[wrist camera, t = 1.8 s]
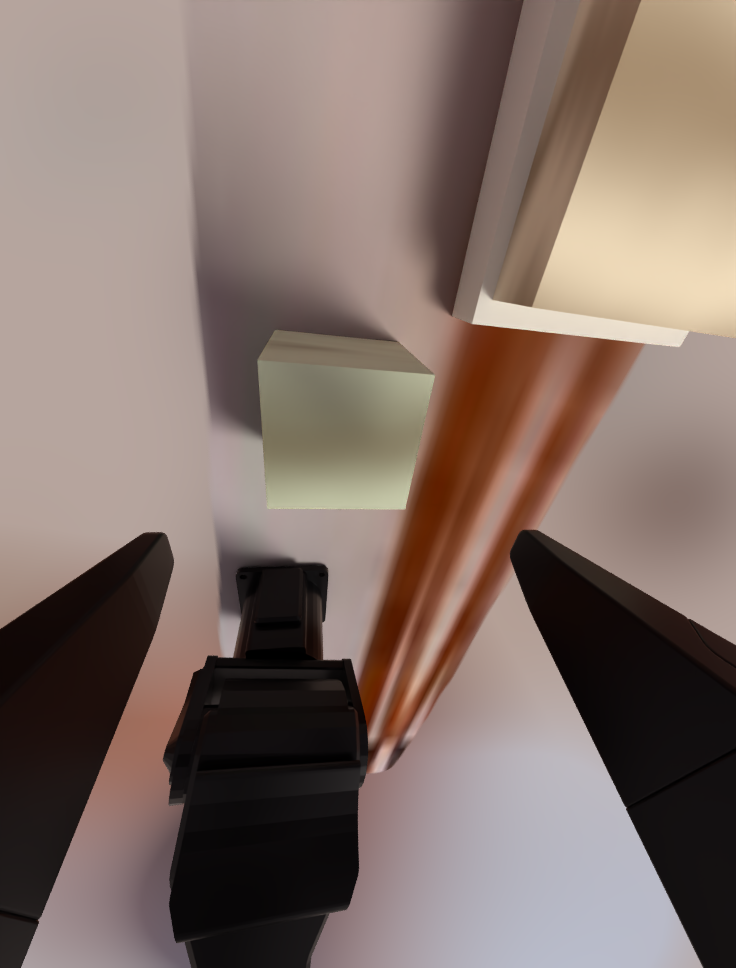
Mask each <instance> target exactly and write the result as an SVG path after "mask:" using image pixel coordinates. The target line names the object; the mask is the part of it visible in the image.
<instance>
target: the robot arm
mask: <svg viewBox="0 0 736 968" xmlns="http://www.w3.org/2000/svg"><path fill="white" fill-rule="evenodd" d="M510 559H511V562H512V565H513V567H514V570H515V573H516V576H517V578H518V581H519V584H520V586H521V589H522V592H523V594H524V597H525V600H526V602H527V604H528V607H529V609H530V612H531V614H532V616H533V618H534V621H535V623H536V624H537V627H538V629H539V631H540V633H541V635H542V637H543V639H544V641H545V643H546V645H547V647H548V649H549V651H550V653H551V655H552V657H553V659H554V662H555V664H556V666H557V668H558V670H559V672H560V674H561V676H562V678H563V680H564V682H565V684H566V686H567V688H568V690H569V692H570V695H571V697H572V698H573V701H574V703H575V704H576V707H577V709H578V711H579V713H580V715H581V717H582V719H583V721H584V723H585V725H586V727H587V729H588V732H589V734H590V736H591V737H592V740H593V742H594V744H595V746H596V748H597V750H598V752H599V754H600V756H601V758H602V760H603V762H604V764H605V766H606V768H607V771H608V773H609V775H610V776H611V779H612V781H613V783H614V785H615V786H616V789H617V791H618V793H619V795H620V797H621V799H622V801H623V803H624V805H625V807H627V808H626V810H627V812H628V814H629V816H630V818H631V820H632V822H633V824H634V826H635V829H636V831H637V833H638V835H639V837H640V839H641V841H642V843H643V845H644V847H645V849H646V851H647V853H648V855H649V857H650V860H651V862H652V864H653V866H654V868H655V870H656V872H657V874H658V876H659V878H660V880H661V882H662V884H663V886H664V888H665V890H666V892H667V894H668V896H669V898H670V900H671V903H672V905H673V907H674V909H675V911H676V913H677V915H678V917H679V919H680V921H681V923H682V925H683V927H684V929H685V931H686V934H687V936H688V937H689V940H690V942H691V944H692V946H693V948H694V950H695V952H696V954H697V956H698V958H699V960H700V962H701V964H702V966H703V968H736V645H734V644H733V643H731V642H729V641H727V640H726V639H724V638H722V637H720V636H718V635H717V634H715V633H713V632H712V631H710V630H708V629H706V628H705V627H703V626H701V625H700V624H698V623H696V622H694V621H693V620H691V619H687V617H685V616H684V615H682V614H680V613H679V612H677V611H675V610H674V609H672V608H670V607H669V606H667V605H665V604H663V603H661V602H660V601H658V600H656V599H655V598H653V597H651V596H650V595H648V594H646V593H644V592H643V591H641V590H639V589H638V588H636V587H634V586H632V585H631V584H629V583H627V582H626V581H624V580H622V579H620V578H619V577H617V576H615V575H614V574H612V573H610V572H608V571H607V570H605V569H603V568H601V567H600V566H598V565H596V564H594V563H593V562H591V561H590V560H588V559H586V558H584V557H582V556H581V555H579V554H578V553H576V552H574V551H572V550H571V549H569V548H567V547H565V546H564V545H562V544H560V543H558V542H557V541H555V540H553V539H552V538H550V537H548V536H546V535H545V534H543V533H541V532H540V531H538V530H522V531H521V532H520V533H519V534H518V536H517V538H516V540H515V542H514V545H513V547H512V549H511V551H510ZM173 565H174V559H173V554H172V551H171V548H170V544H169V541H168V537H167V535H166V534H165V533H162V532H150V533H149V532H147V533H143V534H141V535H140V536H139V537H137V538H135V539H134V540H132V541H131V542H129V543H128V544H126V545H125V546H124V547H122V548H120V549H119V550H117V551H116V552H114V553H113V554H111V555H110V556H108V557H107V558H106V559H104V560H102V561H101V562H99V563H98V564H96V565H95V566H94V567H92V568H91V569H89V570H88V571H86V572H85V573H83V574H82V575H80V576H79V577H77V578H76V579H74V580H73V581H71V582H70V583H68V584H67V585H65V586H64V587H62V588H61V589H59V590H58V591H56V592H55V593H53V594H52V595H50V596H49V597H47V598H46V599H45V600H43V601H41V602H40V603H38V604H37V605H35V606H34V607H32V608H31V609H29V610H28V611H26V612H25V613H23V614H22V615H21V616H19V617H18V618H16V619H15V620H13V621H12V622H10V623H9V624H7V625H6V626H4V627H3V628H1V629H0V968H21V966H22V963H23V961H24V959H25V956H26V954H27V951H28V949H29V946H30V944H31V941H32V939H33V936H34V934H35V931H36V929H37V926H38V924H39V921H38V919H39V918H40V917H41V915H42V913H43V910H44V908H45V905H46V903H47V900H48V898H49V895H50V893H51V891H52V888H53V885H54V883H55V881H56V878H57V876H58V873H59V871H60V868H61V866H62V863H63V861H64V858H65V856H66V853H67V851H68V848H69V846H70V843H71V841H72V838H73V836H74V833H75V831H76V828H77V826H78V823H79V821H80V818H81V816H82V813H83V811H84V808H85V806H86V804H87V801H88V799H89V796H90V794H91V791H92V789H93V786H94V784H95V781H96V779H97V776H98V774H99V771H100V769H101V766H102V764H103V761H104V759H105V756H106V754H107V751H108V749H109V746H110V744H111V741H112V739H113V736H114V734H115V731H116V729H117V726H118V724H119V721H120V719H121V716H122V714H123V711H124V709H125V706H126V704H127V702H128V699H129V696H130V694H131V691H132V689H133V687H134V684H135V682H136V679H137V677H138V674H139V671H140V669H141V667H142V664H143V662H144V659H145V657H146V654H147V652H148V649H149V647H150V644H151V642H152V639H153V636H154V634H155V631H156V628H157V625H158V621H159V617H160V614H161V610H162V607H163V603H164V599H165V596H166V592H167V588H168V585H169V581H170V578H171V574H172V570H173ZM320 572H323V573H320ZM236 582H237V588H238V594H239V601H240V607H241V614H242V616H241V621H240V626H239V631H238V636H237V641H236V646H235V651H234V656H233V658H222V657H219V658H218V656H208V657H207V660H206V663H205V666H204V667H203V669H200V670H198V671H196V672H194V673H193V677H192V680H191V683H190V687H189V690H188V693H187V697H186V700H185V703H184V706H183V708H182V711H181V713H180V715H179V718H178V720H177V723H176V725H175V727H174V730H173V732H172V734H171V737H170V739H169V741H168V744H167V746H166V749H165V753H164V757H163V762H164V764H165V765H166V767H167V769H168V770H169V772H170V778H169V785H171V789H170V796H169V806H171V805H182V804H183V803H185V804H184V809H183V813H182V818H181V823H180V828H179V832H178V837H177V842H176V847H175V852H174V856H173V861H172V866H171V870H170V879H169V880H170V888H171V895H170V901H169V907H170V914H171V920H172V926H173V932H174V938H175V941H176V943H181V942H185V945H186V949H187V953H188V957H189V960H190V964H191V968H310V963H311V956H312V953H313V951H314V949H315V946H316V944H317V942H318V939H319V937H320V934H321V932H322V930H323V927H324V925H325V922H326V920H327V918H328V916H329V913H333V912H338V911H343V910H346V909H347V908H348V907H349V904H350V901H351V898H352V895H353V890H354V887H355V884H356V880H357V877H358V872H359V854H358V790H359V788H360V787H361V786H362V784H363V783H364V779H365V775H366V769H367V760H368V735H367V725H366V719H365V715H364V710H363V706H362V702H361V698H360V694H359V690H358V686H357V682H356V678H355V674H354V670H353V666H352V661H351V659H342V660H323V634H322V622H324V621H325V615H326V601H327V587H328V568H327V567H325V566H295V567H257V568H240V569H238V571H237V574H236Z"/></svg>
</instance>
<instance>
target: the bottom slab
mask: <svg viewBox="0 0 736 968" xmlns="http://www.w3.org/2000/svg"><path fill="white" fill-rule="evenodd" d="M579 3H580V0H524V1H523V6H522V10H521V14H520V19H519V23H518V28H517V32H516V36H515V41H514V45H513V50H512V54H511V58H510V63H509V67H508V72H507V76H506V80H505V85H504V89H503V94H502V98H501V102H500V107H499V111H498V116H497V120H496V124H495V129H494V133H493V138H492V142H491V146H490V151H489V155H488V160H487V164H486V168H485V173H484V177H483V182H482V186H481V190H480V195H479V199H478V204H477V208H476V212H475V217H474V221H473V226H472V230H471V234H470V239H469V243H468V248H467V252H466V256H465V261H464V265H463V270H462V274H461V278H460V283H459V287H458V292H457V296H456V300H455V305H454V309H453V314H452V317H455V318H458V319H461V320H463V321H466V322H469V323H472V324H479V325H488V326H497V327H506V328H515V329H523V330H532V331H541V332H550V333H559V334H568V335H577V336H585V337H594V338H603V339H612V340H621V341H630V342H638V343H647V344H656V345H665V346H674V347H680V346H681V344H682V343H683V341H684V339H685V337H686V336H687V334H688V332H689V331H685V330H678V329H672V328H665V327H658V326H652V325H645V324H638V323H632V322H625V321H618V320H612V319H605V318H598V317H592V316H585V315H578V314H572V313H565V312H558V311H552V310H545V309H538V308H532V307H526V306H521V305H516V304H511V303H505V302H500V301H495V300H492V299H493V296H494V292H495V289H496V286H497V282H498V279H499V275H500V272H501V269H502V265H503V262H504V258H505V255H506V251H507V248H508V245H509V241H510V238H511V234H512V231H513V228H514V224H515V221H516V217H517V214H518V211H519V207H520V204H521V200H522V197H523V194H524V190H525V187H526V183H527V180H528V177H529V173H530V170H531V166H532V163H533V160H534V156H535V153H536V149H537V146H538V143H539V139H540V136H541V132H542V129H543V126H544V122H545V119H546V115H547V112H548V109H549V105H550V102H551V98H552V95H553V92H554V88H555V85H556V81H557V78H558V75H559V71H560V68H561V64H562V61H563V58H564V54H565V51H566V47H567V44H568V41H569V37H570V34H571V30H572V27H573V24H574V20H575V17H576V13H577V10H578V7H579Z"/></svg>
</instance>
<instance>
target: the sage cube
mask: <svg viewBox="0 0 736 968" xmlns="http://www.w3.org/2000/svg"><path fill="white" fill-rule="evenodd" d="M257 362H258V377H259V392H260V407H261V422H262V437H263V452H264V467H265V482H266V497H267V509H405V507H406V503H407V498H408V494H409V489H410V485H411V480H412V476H413V471H414V467H415V462H416V458H417V453H418V449H419V445H420V440H421V436H422V431H423V427H424V422H425V418H426V413H427V409H428V404H429V400H430V395H431V391H432V386H433V382H434V378H435V374H434V373H432V372H431V371H430V370H429V369H428V368H427V367H426V366H425V365H424V364H422V363H421V362H420V361H419V360H418V359H417V358H416V357H415V356H414V355H412V354H411V353H410V352H409V351H408V350H407V349H406V348H405V347H404V346H403V345H401V344H400V343H399V342H393V341H383V340H373V339H363V338H353V337H343V336H333V335H323V334H313V333H303V332H294V331H284V330H275V331H274V332H273V334H272V336H271V338H270V339H269V341H268V343H267V344H266V346H265V348H264V350H263V351H262V353H261V355H260V356H259V358H258V360H257Z"/></svg>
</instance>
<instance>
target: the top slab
mask: <svg viewBox="0 0 736 968" xmlns="http://www.w3.org/2000/svg"><path fill="white" fill-rule="evenodd" d="M492 300H495V301H500V302H505V303H511V304H516V305H521V306H526V307H532V308H538V309H545V310H552V311H558V312H565V313H572V314H578V315H585V316H592V317H598V318H605V319H612V320H618V321H625V322H632V323H638V324H645V325H652V326H658V327H665V328H672V329H678V330H685V331H692V332H699V333H705V334H712V335H719V336H725V337H732V338H736V0H580V3H579V7H578V10H577V13H576V17H575V20H574V24H573V27H572V30H571V34H570V37H569V41H568V44H567V47H566V51H565V54H564V58H563V61H562V64H561V68H560V71H559V75H558V78H557V81H556V85H555V88H554V92H553V95H552V98H551V102H550V105H549V109H548V112H547V115H546V119H545V122H544V126H543V129H542V132H541V136H540V139H539V143H538V146H537V149H536V153H535V156H534V160H533V163H532V166H531V170H530V173H529V177H528V180H527V183H526V187H525V190H524V194H523V197H522V200H521V204H520V207H519V211H518V214H517V217H516V221H515V224H514V228H513V231H512V234H511V238H510V241H509V245H508V248H507V251H506V255H505V258H504V262H503V265H502V269H501V272H500V275H499V279H498V282H497V286H496V289H495V292H494V296H493V299H492Z"/></svg>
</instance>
